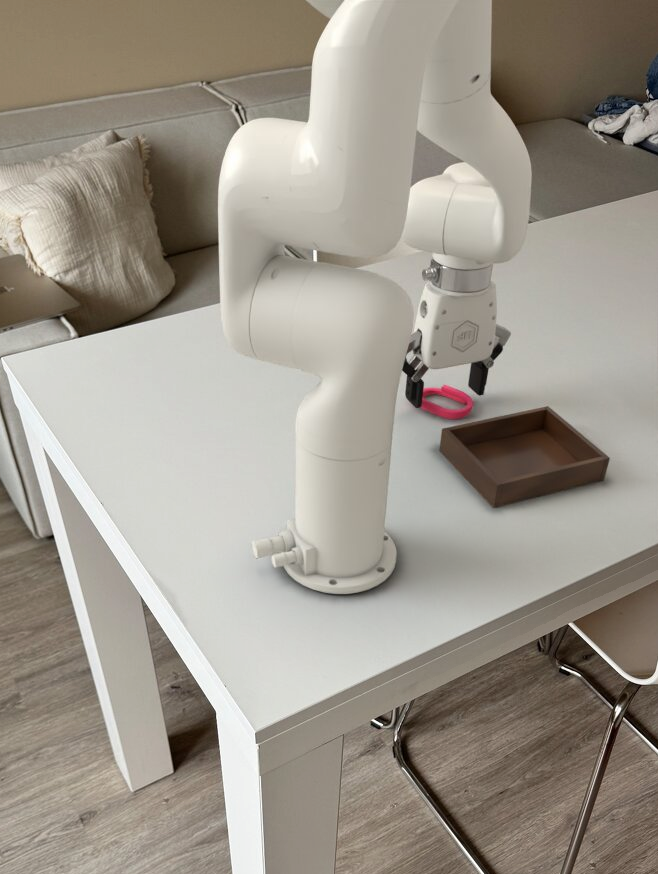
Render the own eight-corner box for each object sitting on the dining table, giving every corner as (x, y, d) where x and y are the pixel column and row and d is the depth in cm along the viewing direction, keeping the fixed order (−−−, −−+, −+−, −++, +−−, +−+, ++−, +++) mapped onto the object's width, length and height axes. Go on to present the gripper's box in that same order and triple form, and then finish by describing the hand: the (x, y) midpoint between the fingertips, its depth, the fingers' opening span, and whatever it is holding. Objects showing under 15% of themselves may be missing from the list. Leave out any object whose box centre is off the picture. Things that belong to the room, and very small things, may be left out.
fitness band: (480, 408, 123) (481, 398, 122) (457, 424, 119) (458, 414, 118) (431, 388, 126) (432, 379, 125) (407, 404, 123) (408, 394, 122)
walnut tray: (493, 508, 105) (497, 485, 103) (438, 450, 114) (441, 428, 112) (603, 480, 110) (610, 457, 108) (543, 427, 119) (548, 405, 117)
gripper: (413, 294, 105) (401, 422, 116) (536, 275, 110) (513, 398, 122) (385, 271, 110) (376, 395, 122) (504, 254, 115) (485, 374, 127)
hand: (445, 397), depth 122 cm, fingers open, 9 cm apart
